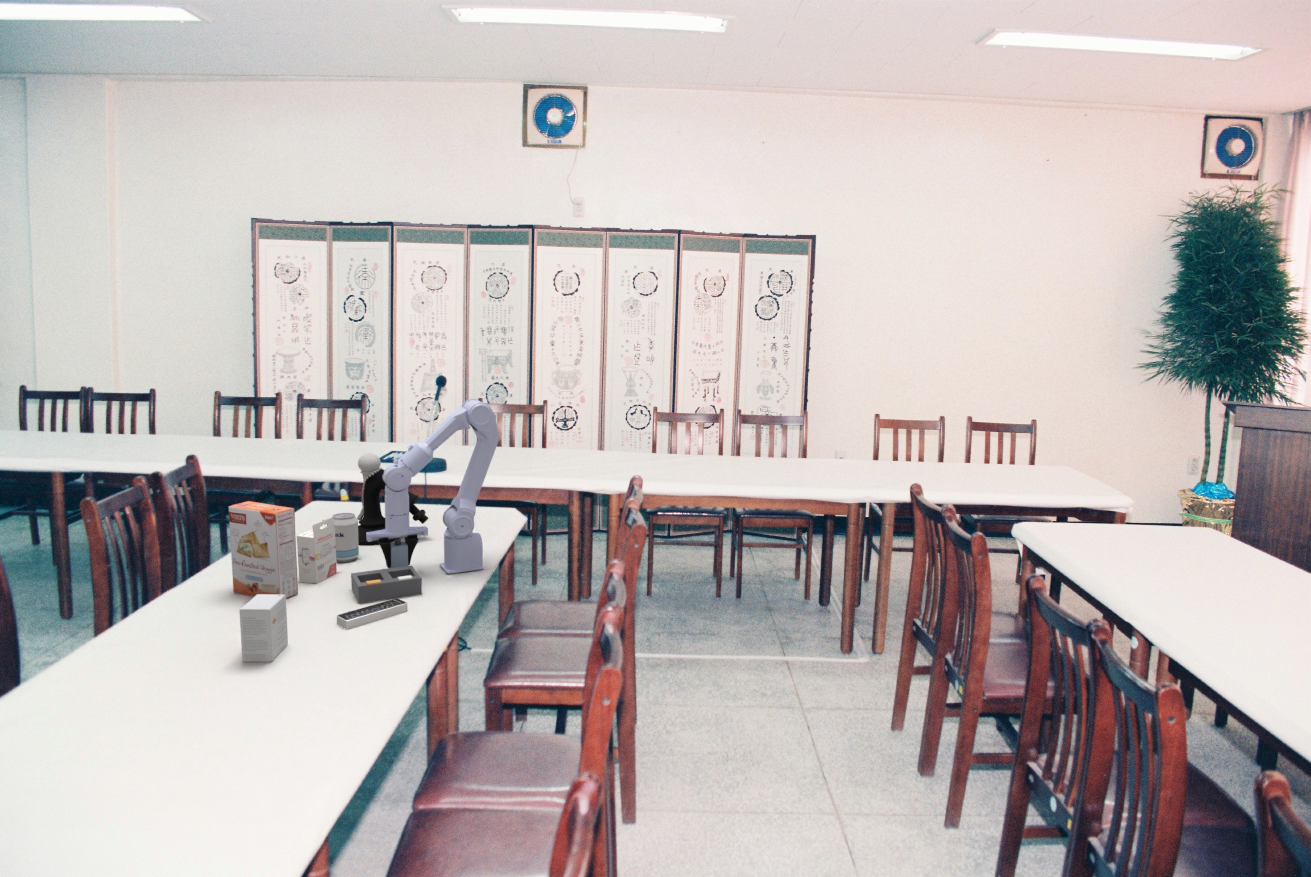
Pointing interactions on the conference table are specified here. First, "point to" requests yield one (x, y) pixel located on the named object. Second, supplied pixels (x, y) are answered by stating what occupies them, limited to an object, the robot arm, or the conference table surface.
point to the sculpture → (377, 500)
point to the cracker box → (263, 549)
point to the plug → (399, 554)
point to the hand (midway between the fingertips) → (398, 565)
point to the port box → (386, 584)
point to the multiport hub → (371, 613)
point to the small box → (263, 627)
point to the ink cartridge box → (317, 552)
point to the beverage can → (346, 537)
